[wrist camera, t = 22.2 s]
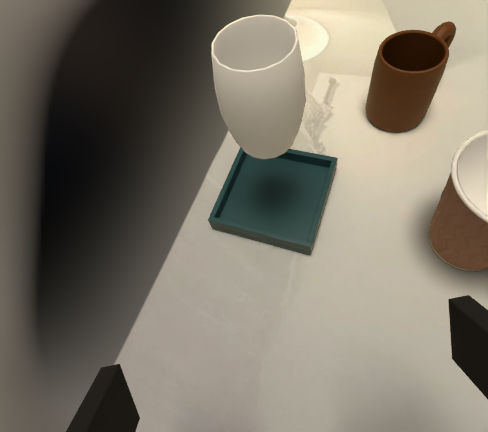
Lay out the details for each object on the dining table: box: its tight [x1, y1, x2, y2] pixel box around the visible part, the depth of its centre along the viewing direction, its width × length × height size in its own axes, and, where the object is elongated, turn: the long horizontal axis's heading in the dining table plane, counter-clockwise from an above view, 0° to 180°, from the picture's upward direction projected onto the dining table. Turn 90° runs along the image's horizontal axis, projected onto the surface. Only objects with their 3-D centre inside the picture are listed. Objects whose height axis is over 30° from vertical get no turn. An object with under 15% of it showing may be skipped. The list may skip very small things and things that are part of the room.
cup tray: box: [208, 147, 337, 255], centre depth 42 cm, size 12×12×2 cm
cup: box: [212, 15, 306, 159], centre depth 34 cm, size 7×7×21 cm
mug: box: [366, 22, 456, 131], centre depth 43 cm, size 12×8×9 cm, turn 131°
